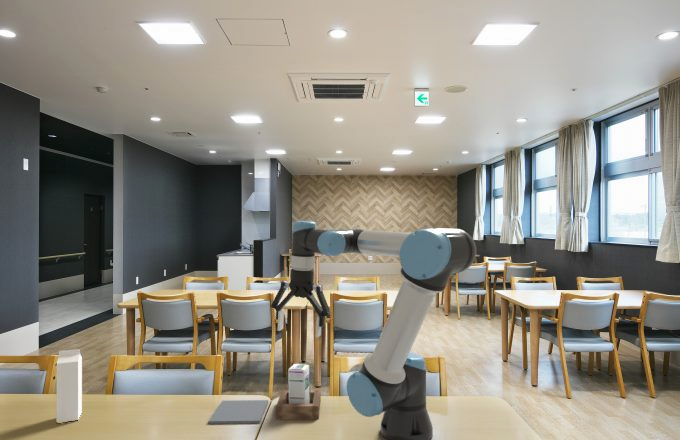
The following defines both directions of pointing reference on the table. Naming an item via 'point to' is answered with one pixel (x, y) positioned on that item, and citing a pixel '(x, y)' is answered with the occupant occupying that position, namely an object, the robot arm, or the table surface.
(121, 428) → the table surface
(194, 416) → the table surface
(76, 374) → the milk
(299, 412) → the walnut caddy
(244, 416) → the charcoal mat
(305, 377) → the syrup box
